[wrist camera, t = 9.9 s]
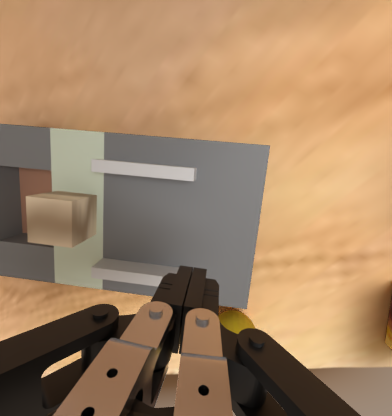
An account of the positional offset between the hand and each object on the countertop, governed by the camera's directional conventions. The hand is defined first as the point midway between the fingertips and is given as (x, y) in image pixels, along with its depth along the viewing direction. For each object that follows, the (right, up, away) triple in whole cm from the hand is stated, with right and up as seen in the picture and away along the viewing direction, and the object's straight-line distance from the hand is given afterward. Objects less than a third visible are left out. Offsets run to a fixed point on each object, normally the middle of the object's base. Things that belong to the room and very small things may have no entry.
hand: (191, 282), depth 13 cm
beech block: (-13, +4, +14) cm, 19 cm away
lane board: (-9, +4, +17) cm, 20 cm away
